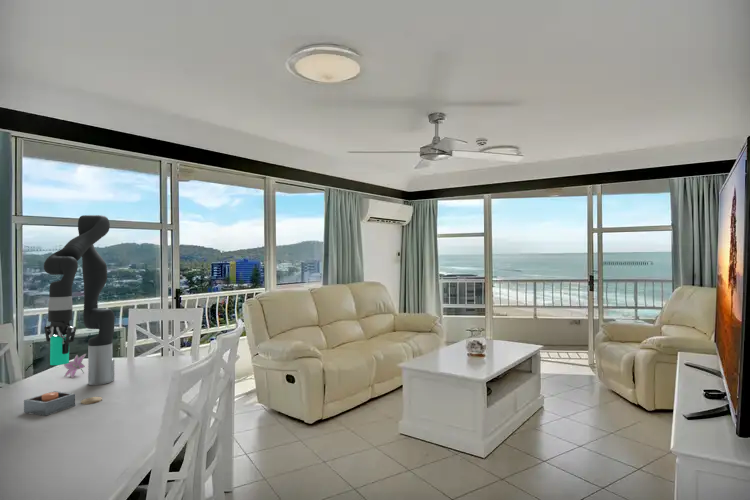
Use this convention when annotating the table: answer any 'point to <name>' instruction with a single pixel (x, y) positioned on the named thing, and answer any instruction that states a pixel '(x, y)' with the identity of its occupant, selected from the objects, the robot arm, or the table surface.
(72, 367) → the lily
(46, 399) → the orange egg shape
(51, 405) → the gray open box
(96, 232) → the robot arm
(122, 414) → the table surface
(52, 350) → the candle
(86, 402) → the coaster
